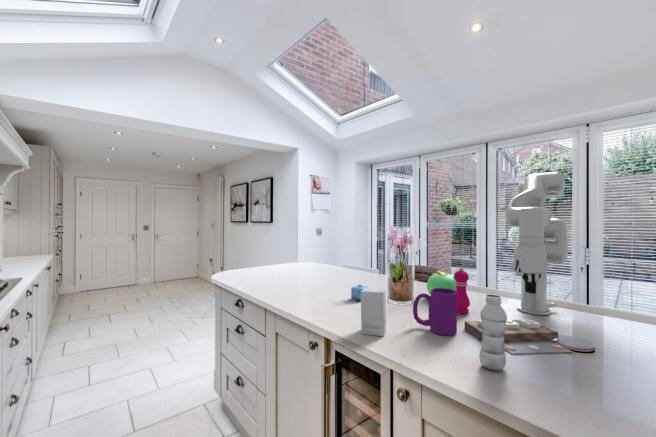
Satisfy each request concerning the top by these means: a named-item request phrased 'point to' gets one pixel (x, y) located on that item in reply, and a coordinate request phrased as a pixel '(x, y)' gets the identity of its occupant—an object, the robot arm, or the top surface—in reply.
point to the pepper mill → (462, 291)
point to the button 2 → (530, 324)
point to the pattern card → (534, 348)
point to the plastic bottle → (493, 334)
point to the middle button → (511, 325)
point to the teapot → (357, 291)
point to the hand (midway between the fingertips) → (530, 292)
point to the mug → (439, 311)
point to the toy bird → (441, 281)
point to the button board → (516, 333)
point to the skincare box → (373, 311)
